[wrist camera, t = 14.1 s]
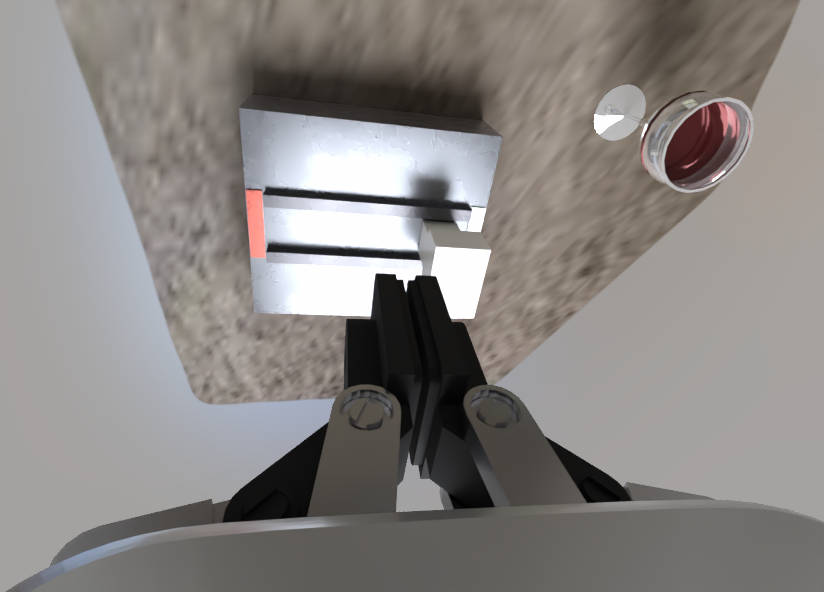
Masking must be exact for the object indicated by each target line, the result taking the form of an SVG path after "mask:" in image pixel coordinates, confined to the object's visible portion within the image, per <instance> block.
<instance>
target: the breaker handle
mask: <svg viewBox="0 0 824 592" xmlns="http://www.w3.org/2000/svg"><path fill="white" fill-rule="evenodd" d="M418 252H419V256H420V259H421V262H422V266H423V269H422V275H426V276H436V277H437V280H438V283H439V286H440V288H441V291H442V294H443V297H444V300H445V303H446V306H447V309H448V312H449V315H450V318H474V315H475V311H476V307H477V303H478V299H479V295H480V291H481V287H482V283H483V279H484V276H485V272H486V268H487V264H488V260H489V256H490V252H491V249H490V248H489V246H488V244H487V243H486V241H485V239H484V238H483V236H482V234H481V233H480V232H474V231H460V229H459V227H458V225H457V223H453V222H439V221H425V220H423V223H422V230H421V236H420V243H419V249H418Z"/></svg>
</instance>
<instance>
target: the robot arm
mask: <svg viewBox="0 0 824 592" xmlns="http://www.w3.org/2000/svg"><path fill="white" fill-rule="evenodd" d="M408 453H410V460H411V464H412V465H418V466H419V471H420V478H421V479H428V478H430V479H431V480H432V481H434V482H435V483H436V484H437V485H439V486H440V497H441V501H442V504H443V507H444V510H432V511H412V512H396V499H397V486H398V485H399V483H400V482H401V481H402V480H403V477H404V472H405V467H406V463H407V457H408ZM6 592H824V522H823V521H820V520H818V519H815V518H813V517H810V516H807V515H803V514H800V513H797V512H794V511H790V510H787V509H782V508H777V507H773V506H767V505H763V504H757V503H750V502H739V501H729V500H715V499H712V498H709V497H706V496H700V495H695V494H689V493H684V492H678V491H673V490H667V489H662V488H655V487H650V486H644V485H640V484H634V483H629V482H627V483H626V484H625V486H624V487H622V486H621V485H620V484H619V483H618V482H617V481H616V480H614V479H613V478H612V477H610V476H609V475H608V474H606V473H604V472H603V471H601V470H599V469H598V468H596V467H594V466H593V465H591V464H589V463H588V462H586V461H585V460H583V459H581V458H579V457H578V456H576V455H574V454H573V453H572V452H570V451H568V450H567V449H565V448H563V447H562V446H560V445H558V444H557V443H555V442H553V441H552V440H550V439H548V438H547V437H545V436H544V434H543V433H542V431H541V430H540V428H539V427H538V425H537V423H536V422H535V420H534V419H533V417H532V416H531V414H530V413H529V411H528V409H527V408H526V406H525V405H524V403H523V402H522V401H521V400H520V399H519V398H518V397H517V396H516V395H515V394H513V393H512V392H510V391H508V390H506V389H504V388H502V387H498V386H494V385H487V382H486V379H485V377H484V374H483V371H482V369H481V366H480V363H479V361H478V358H477V355H476V353H475V350H474V347H473V345H472V342H471V339H470V337H469V334H468V331H467V329H466V326H465V324H464V323H462V322H452V321H451V318H450V315H449V312H448V309H447V306H446V303H445V300H444V297H443V294H442V291H441V288H440V286H439V283H438V280H437V277H436V276H426V275H416V276H415V279H414V280H408V282H407V289H406V290H405V286H404V281H403V279H397V277H396V274H385V273H376V274H375V280H374V289H373V300H372V310H371V319H347V321H346V335H345V354H344V391H342V392H341V393H340V394H339V395H338V396H337V397H336V399H335V401H334V404H333V406H332V410H331V415H330V419H329V422H328V423H327V424H325V425H324V426H323V427H321V428H320V429H319V430H317V431H316V432H315V433H313V434H312V435H311V436H309V437H308V438H307V439H306V440H304V441H303V442H302V443H300V444H299V445H298V446H296V447H295V448H294V449H292V450H291V451H290V452H288V453H287V454H286V455H285V456H283V457H282V458H281V459H279V460H278V461H277V462H275V463H274V464H273V465H271V466H270V467H269V468H268V469H266V470H265V471H264V472H262V473H261V474H260V475H258V476H257V477H256V478H254V479H253V480H252V481H250V482H249V483H248V484H246V485H245V486H244V487H243V488H241V489H240V490H239V491H238V492H237V493H236V494H235V495H234V496H233V497H232V499H231V500H228V501H223V502H219V503H216V504H213V502H212V499H209V500H205V501H201V502H197V503H193V504H188V505H184V506H180V507H176V508H172V509H168V510H164V511H160V512H155V513H151V514H147V515H143V516H139V517H135V518H131V519H127V520H123V521H118V522H114V523H110V524H106V525H102V526H98V527H96V528H93V529H91V530H88V531H86V532H83V533H81V534H80V535H78V536H77V537H76V538H74V539H73V540H71V541H70V542H68V543H67V544H66V545H65V546H64V547H63V548H62V549H61V551H60V552H59V553H58V554H57V555H56V556H55V557H54V559H53V561H52V563H51V565H50V567H49V568H47V569H45V570H43V571H40V572H39V573H37V574H35V575H33V576H31V577H29V578H27V579H25V580H24V581H22V582H20V583H18V584H17V585H15V586H14V587H12V588H11V589H9V590H7V591H6Z"/></svg>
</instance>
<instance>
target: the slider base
mask: <svg viewBox="0 0 824 592" xmlns="http://www.w3.org/2000/svg"><path fill="white" fill-rule="evenodd" d="M239 117H240V130H241V143H242V156H243V169H244V183H245V196H246V209H247V222H248V235H249V248H250V261H251V275H252V288H253V301H254V313H282V314H314V315H346V316H371V310H372V300H373V289H374V280H375V274H376V273H385V274H396V277H397V279H403V281H404V286H405V290H406V289H407V282H408V280H414V279H415V276H416V275H422V269H423V266H422V262H421V259H420V256H419V252H418V249H419V243H420V236H421V230H422V223H423V220H425V221H439V222H453V223H457V225H458V227H459V229H460V231H474V232H480V233H481V228H482V224H483V220H484V215H485V211H486V207H487V203H488V198H489V194H490V190H491V186H492V181H493V177H494V173H495V168H496V164H497V160H498V156H499V151H500V147H501V143H502V138H503V137H502V136H501V135H500V134H499V133H498V132H496V131H495V130H494V129H493V128H492V127H490V126H489V125H488V124H487V123H486V122H484V121H483V120H474V119H466V118H457V117H448V116H440V115H431V114H422V113H414V112H405V111H396V110H388V109H379V108H370V107H362V106H353V105H344V104H336V103H327V102H318V101H310V100H301V99H292V98H284V97H275V96H266V95H258V94H253V95H252V96H251V97H250V98H249V99H248V100H247V101H246V102H245V103H244V104H242V105H241V106H240V107H239ZM451 319H460V318H451Z"/></svg>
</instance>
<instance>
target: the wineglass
mask: <svg viewBox="0 0 824 592" xmlns="http://www.w3.org/2000/svg"><path fill="white" fill-rule="evenodd" d="M645 108H646V101H645V96H644V94H643V92H642V91H641V90H640V89H639V88H638V87H637V86H634V85H630V84H627V85H620V86H618V87H616V88H613V89H612V90H611V91H609V92H608V93H607V94H606V95H605V96H604V97H603V98H602V100H601V101H600V102H599V104H598V107H597V109H596V111H595V117H594V124H595V129H596V131H597V132H598V134H599V135H600V136H601V137H602V138H604V139H606V140H611V141H613V140H620V139H622V138H624V137H627V136H628V135H629V134H631V133H632V132H633V131H634V130H635V129H636V128H637V126H638V125H640V126H642V127H644V130H643V132H642V134H641V138H640V143H639V153H640V159H641V162H642V163H643V165H644V167H645V169H646V171H647V173H648V174H650V175H651V176H652V177H654V178H655V179H656V180H658V181H659V182H661V183H666V184H668V185H670V186H671V187H672V188H674V189H675V190H677V191H681V192H686V193H690V192H698V191H702V190H705V189H707V188H709V187H712V186H714V185H716V184H717V183H719V182H720V181H721V180H723V179H724V178H726V177H727V176H728V175H729V174H730V173H731V172H732V171H733V170H734V169H735V168H736V167H737V166H738V165H739V163H740V162H741V160H742V159H743V157H744V155H745V154H746V152H747V151H748V148H749V145H750V142H751V139H752V137H753V125H754V120H753V118H752V114H751V112H750V109H749V108H748V107H747V106H746V105H745V104H744V103H743V102H742V101H740V100H736V99H733V98H729V97H728V98H725V97H723V96H722V95H719V94H716V93H712V92H707V91H697V92H689V93H685V94H683V95H680V96H678V97H676V98H674V99H671V100H669V101H668V102H666V103H665V104H664V105H662V106H661V107H660V108H659V109H657V110H656V112H655V113H654V114H653V115H652V117H651V118H650V119H649V120H647V119H643V116H644V113H645Z"/></svg>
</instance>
